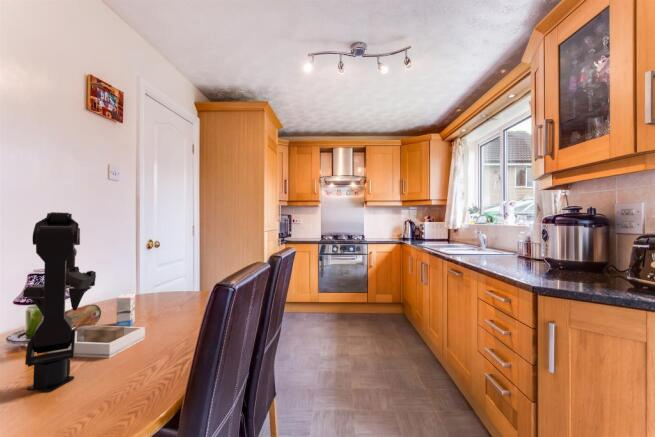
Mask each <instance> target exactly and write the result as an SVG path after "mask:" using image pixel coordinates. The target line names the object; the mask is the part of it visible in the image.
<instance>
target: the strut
mask: <svg viewBox="0 0 655 437" xmlns="http://www.w3.org/2000/svg"><path fill="white" fill-rule="evenodd" d="M111 326H112V325H93V326H82V327H79V328H77V342H96V343H110V342H112V341H115V340H117V339H119V338H121V337H123V336H124V328H125V327H111Z"/></svg>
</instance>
